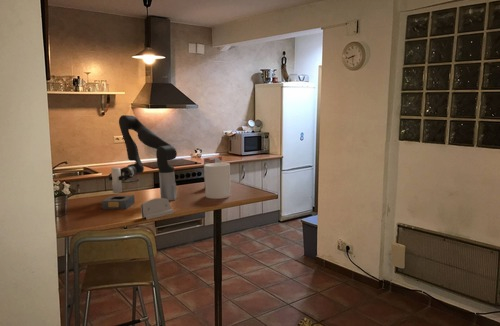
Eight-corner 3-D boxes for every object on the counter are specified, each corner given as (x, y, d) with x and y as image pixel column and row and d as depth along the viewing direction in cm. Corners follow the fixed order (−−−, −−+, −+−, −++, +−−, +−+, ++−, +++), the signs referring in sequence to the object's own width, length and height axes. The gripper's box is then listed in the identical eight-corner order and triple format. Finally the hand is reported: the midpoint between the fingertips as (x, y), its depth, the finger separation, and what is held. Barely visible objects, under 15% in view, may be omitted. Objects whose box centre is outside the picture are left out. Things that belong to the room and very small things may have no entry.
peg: (123, 191, 237) (121, 167, 235) (120, 192, 233) (118, 168, 230) (115, 191, 238) (113, 167, 236) (111, 192, 233) (109, 169, 231)
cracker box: (211, 188, 279) (209, 158, 276) (204, 187, 283) (202, 158, 280) (223, 184, 291) (222, 155, 288) (216, 184, 294) (215, 155, 291)
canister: (203, 194, 261) (201, 163, 258) (227, 192, 265) (226, 161, 263) (208, 199, 246) (207, 167, 243) (234, 197, 250) (232, 165, 248)
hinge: (146, 219, 205) (141, 200, 207) (142, 221, 209) (137, 202, 210) (174, 213, 217) (170, 195, 218) (170, 214, 220) (165, 196, 221)
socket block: (134, 203, 243) (134, 195, 242) (125, 209, 228) (125, 200, 228) (112, 203, 244) (111, 195, 243) (101, 209, 230) (101, 201, 229)
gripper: (114, 167, 248) (101, 172, 231) (136, 167, 247) (126, 172, 230) (114, 179, 249) (103, 185, 232) (137, 179, 248) (127, 184, 231)
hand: (114, 178), depth 231 cm, fingers closed on peg, 5 cm apart
